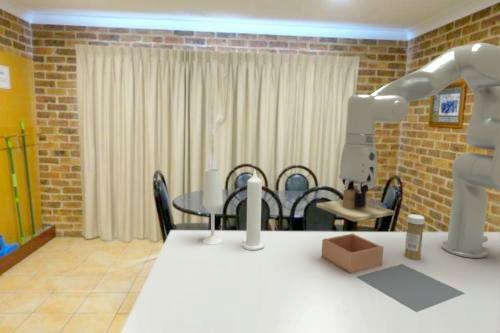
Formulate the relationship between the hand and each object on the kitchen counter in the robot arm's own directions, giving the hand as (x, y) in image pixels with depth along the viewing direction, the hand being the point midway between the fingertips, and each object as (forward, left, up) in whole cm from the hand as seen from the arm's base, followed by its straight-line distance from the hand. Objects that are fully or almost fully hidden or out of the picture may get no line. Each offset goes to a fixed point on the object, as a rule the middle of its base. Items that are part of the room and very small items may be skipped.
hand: (354, 204), depth 99 cm
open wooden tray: (0, 0, -18) cm, 18 cm away
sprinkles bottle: (-19, +6, -18) cm, 27 cm away
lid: (0, 0, -2) cm, 2 cm away
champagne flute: (+30, -33, -18) cm, 48 cm away
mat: (-3, +17, -18) cm, 25 cm away
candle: (+20, -23, -18) cm, 35 cm away
